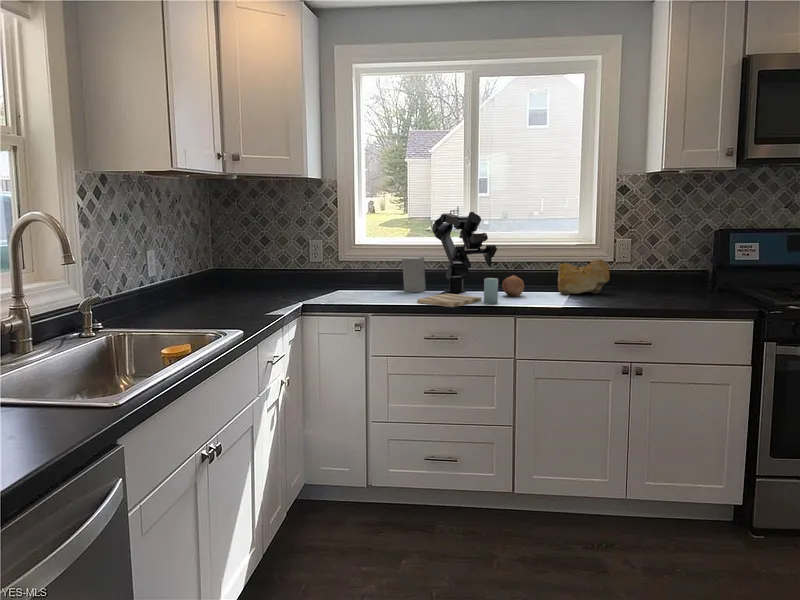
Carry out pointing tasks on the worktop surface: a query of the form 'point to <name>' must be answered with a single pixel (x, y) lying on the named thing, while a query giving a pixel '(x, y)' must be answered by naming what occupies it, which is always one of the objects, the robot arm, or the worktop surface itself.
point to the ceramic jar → (491, 290)
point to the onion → (513, 286)
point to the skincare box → (413, 274)
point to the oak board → (449, 300)
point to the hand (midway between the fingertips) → (480, 267)
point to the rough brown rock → (582, 277)
